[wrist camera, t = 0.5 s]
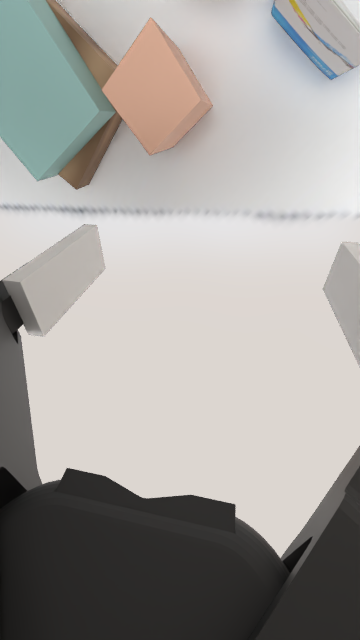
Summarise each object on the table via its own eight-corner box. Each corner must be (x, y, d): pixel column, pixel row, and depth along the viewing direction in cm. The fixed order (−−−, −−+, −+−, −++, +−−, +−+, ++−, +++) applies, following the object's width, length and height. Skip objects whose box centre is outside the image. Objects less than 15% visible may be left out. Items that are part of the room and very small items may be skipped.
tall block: (139, 98, 29) (101, 90, 22) (178, 48, 26) (150, 17, 19) (173, 147, 32) (149, 155, 24) (212, 105, 29) (200, 99, 21)
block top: (-19, 80, 28) (-51, 75, 25) (34, -18, 23) (2, -39, 20) (56, 175, 33) (37, 181, 30) (115, 112, 28) (99, 111, 25)
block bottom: (4, 108, 33) (-21, 107, 30) (35, -22, 26) (7, -41, 23) (90, 183, 37) (76, 189, 34) (139, 88, 29) (127, 84, 26)
